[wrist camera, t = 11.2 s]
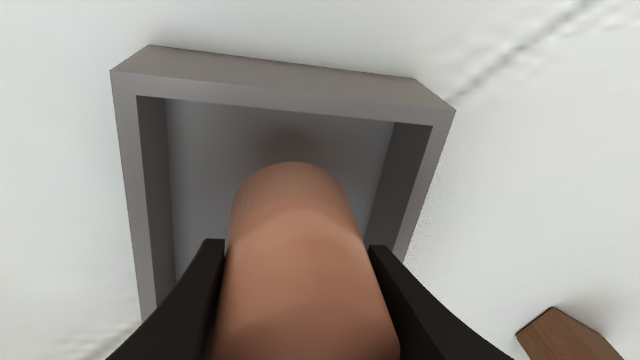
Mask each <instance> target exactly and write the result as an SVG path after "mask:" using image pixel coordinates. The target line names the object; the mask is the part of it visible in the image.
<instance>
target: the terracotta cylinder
mask: <svg viewBox="0 0 640 360" xmlns="http://www.w3.org/2000/svg"><path fill="white" fill-rule="evenodd" d="M399 359H400V344H399V340H398V337H397V334H396V331H395V329H394V326H393V323H392V320H391V317H390V315H389V312H388V309H387V306H386V303H385V301H384V298H383V295H382V292H381V289H380V287H379V284H378V281H377V278H376V275H375V273H374V270H373V267H372V264H371V262H370V259H369V256H368V253H367V250H366V248H365V245H364V242H363V239H362V236H361V234H360V231H359V228H358V225H357V222H356V220H355V217H354V214H353V211H352V208H351V206H350V203H349V200H348V197H347V195H346V192H345V190H344V188H343V186H342V185H341V183H340V182H339V181H338V180H337V179H336V178H335V177H334V176H333V175H332V174H331V173H329V172H328V171H326V170H325V169H323V168H321V167H318V166H316V165H313V164H309V163H304V162H282V163H277V164H273V165H269V166H267V167H264V168H262V169H260V170H258V171H257V172H255V173H254V174H252V175H251V176H249V177H248V178H247V179H246V180H245V181H244V182H243V183H242V185H241V186H240V187H239V189H238V190H237V192H236V194H235V196H234V199H233V202H232V207H231V214H230V221H229V228H228V235H227V242H226V249H225V256H224V263H223V270H222V277H221V284H220V291H219V298H218V305H217V312H216V319H215V326H214V333H213V340H212V347H211V354H210V360H399Z"/></svg>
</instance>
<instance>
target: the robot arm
mask: <svg viewBox="0 0 640 360" xmlns="http://www.w3.org/2000/svg"><path fill="white" fill-rule="evenodd" d="M367 253H368V256H369V259H370V262H371V264H372V267H373V270H374V273H375V275H376V278H377V281H378V284H379V287H380V289H381V292H382V295H383V298H384V301H385V303H386V306H387V309H388V312H389V315H390V317H391V320H392V323H393V326H394V329H395V331H396V334H397V337H398V340H399V344H400V359H399V360H514V359H513V358H511V357H510V356H508V355H507V354H505V353H504V352H502V351H501V350H499V349H498V348H496V347H495V346H494V345H492V344H491V343H489V342H488V341H487V340H485V339H484V338H482V337H481V336H480V335H478V334H477V333H476V332H474V331H473V330H472V329H471V328H469V327H468V326H467V325H466V324H465V323H463V322H462V321H461V320H460V319H458V318H457V317H456V316H455V315H454V314H452V313H451V312H450V311H449V310H448V309H447V308H446V307H445V306H444V305H443V304H441V303H440V302H439V301H438V300H437V299H436V298H435V297H434V296H433V295H432V294H431V293H430V292H429V291H428V290H427V289H426V288H425V287H424V286H423V285H422V284H421V283H420V282H419V281H418V280H417V279H416V278H415V277H414V276H413V275H412V274H411V272H410V271H409V270H408V269H407V268H406V267H405V266H404V265H403V264H402V263H401V262H400V260H399V259H398V258H397V257H396V256H395V255H394V254H393V253H392V252H391V251H390V250H389V249H388V247H387V246H386V245H369V248H368V251H367ZM224 254H225V239H211V238H206V239H205V240H203V241H202V244H201V246H200V248H199V249H198V251H197V253H196V255H195V256H194V258H193V260H192V261H191V263H190V264H189V266H188V267H187V269H186V270H185V272H184V273H183V275H182V276H181V277H180V279H179V280H178V282H177V283H176V284H175V286H174V287H173V288H172V290H171V291H170V292H169V293H168V295H167V296H166V297H165V298H164V300H163V301H162V302H161V303H160V305H159V306H158V307H157V308H156V309H155V310H154V311H153V313H152V314H151V315H150V316H149V317H148V318H147V319H146V320H145V321H144V322H143V324H142V325H141V326H140V327H139V328H138V329H137V330H136V331H135V332H134V333H133V334H132V335H131V336H130V337H129V338H128V339H127V340H126V341H125V342H124V343H123V344H122V345H121V346H120V347H118V348H117V349H116V350H115V351H114V352H113V353H112V354H111V355H110V356H109V357H108V358H106V359H105V360H210V354H211V347H212V340H213V333H214V326H215V319H216V312H217V305H218V298H219V291H220V284H221V277H222V270H223V263H224Z"/></svg>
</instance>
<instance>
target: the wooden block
mask: <svg viewBox="0 0 640 360" xmlns="http://www.w3.org/2000/svg"><path fill="white" fill-rule="evenodd" d="M516 337H517V340H518V341H519V343H520V344H521V346H522V347H523V349H524V350H525V352H526V353H527V355H528V356H529V358H530V359H531V360H624V359H623V358H622V357H621V356H620V354H619V353H618V352H617V351H616V350H615V349H614V348H613V347H612V346H611V345H610V344H609V342H608V341H607V340H606V339H605V338H604V337H603V336H601V335H599V334H597V333H596V332H594V331H592V330H591V329H589V328H587V327H586V326H584V325H582V324H581V323H579V322H577V321H575V320H574V319H572V318H570V317H569V316H567V315H565V314H564V313H562V312H560V311H558V310H557V309H555V308H552V309H549V310H548V311H547V312H545V313H544V314H543V315H541V316H540V317H539V318H537V319H536V320H535V321H534V322H532V323H531V324H530V325H528V326H527V327H526V328H524V329H523V330H522V331H520V332H519V333H518V334H517V335H516Z"/></svg>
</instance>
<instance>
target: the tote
mask: <svg viewBox="0 0 640 360" xmlns="http://www.w3.org/2000/svg"><path fill="white" fill-rule="evenodd" d="M110 79H111V86H112V94H113V102H114V109H115V117H116V125H117V132H118V140H119V148H120V155H121V163H122V171H123V178H124V186H125V194H126V201H127V209H128V217H129V225H130V232H131V240H132V248H133V255H134V263H135V271H136V278H137V286H138V294H139V301H140V309H141V317H142V324H143V322H144V321H145V320H146V319H147V318H148V317H149V316H150V315H151V314H152V313H153V311H154V310H155V309H156V308H157V307H158V306H159V305H160V303H161V302H162V301H163V300H164V298H165V297H166V296H167V295H168V293H169V292H170V291H171V290H172V288H173V287H174V286H175V284H176V283H177V282H178V280H179V279H180V277H181V276H182V275H183V273H184V272H185V270H186V269H187V267H188V266H189V264H190V263H191V261H192V260H193V258H194V256H195V255H196V253H197V251H198V249H199V248H200V246H201V244H202V241H203V240H205V239H206V238H211V239H225V249H226V242H227V235H228V228H229V221H230V214H231V207H232V202H233V199H234V196H235V194H236V192H237V190H238V189H239V187H240V186H241V185H242V183H243V182H244V181H245V180H246V179H247V178H248V177H249V176H251V175H252V174H254V173H255V172H257V171H258V170H260V169H262V168H264V167H267V166H269V165H273V164H277V163H282V162H304V163H309V164H313V165H316V166H318V167H321V168H323V169H325V170H326V171H328V172H329V173H331V174H332V175H333V176H334V177H335V178H336V179H337V180H338V181H339V182H340V183H341V185H342V186H343V188H344V190H345V192H346V195H347V197H348V200H349V203H350V206H351V208H352V211H353V214H354V217H355V220H356V222H357V225H358V228H359V231H360V234H361V236H362V239H363V242H364V245H365V248H366V250H367V251H368V248H369V245H386V246H387V247H388V249H389V250H390V251H391V252H392V253H393V254H394V255H395V256H396V257H397V258H398V259H399V260H400V262H401V263H403V261H404V258H405V255H406V252H407V249H408V246H409V244H410V241H411V238H412V235H413V232H414V229H415V226H416V224H417V221H418V218H419V215H420V212H421V209H422V207H423V204H424V201H425V198H426V195H427V192H428V189H429V187H430V184H431V181H432V178H433V175H434V172H435V169H436V167H437V164H438V161H439V158H440V155H441V152H442V150H443V147H444V144H445V141H446V138H447V135H448V132H449V130H450V127H451V124H452V121H453V118H454V115H455V112H456V110H455V109H454V108H453V107H452V106H450V105H449V104H448V103H446V102H445V101H444V100H442V99H441V98H440V97H438V96H437V95H436V94H434V93H433V92H432V91H430V90H429V89H428V88H426V87H425V86H424V85H422V84H421V83H420V82H418V81H417V80H416V79H411V78H403V77H396V76H388V75H380V74H372V73H364V72H357V71H349V70H341V69H333V68H325V67H318V66H310V65H302V64H294V63H287V62H279V61H271V60H263V59H255V58H248V57H240V56H232V55H224V54H217V53H209V52H201V51H193V50H185V49H178V48H170V47H162V46H154V45H147V46H146V47H144V48H143V49H141V50H140V51H138V52H137V53H135V54H134V55H132V56H131V57H129V58H128V59H126V60H125V61H123V62H122V63H120V64H119V65H117V66H116V67H114V68H113V69H111V70H110ZM224 256H225V254H224Z"/></svg>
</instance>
